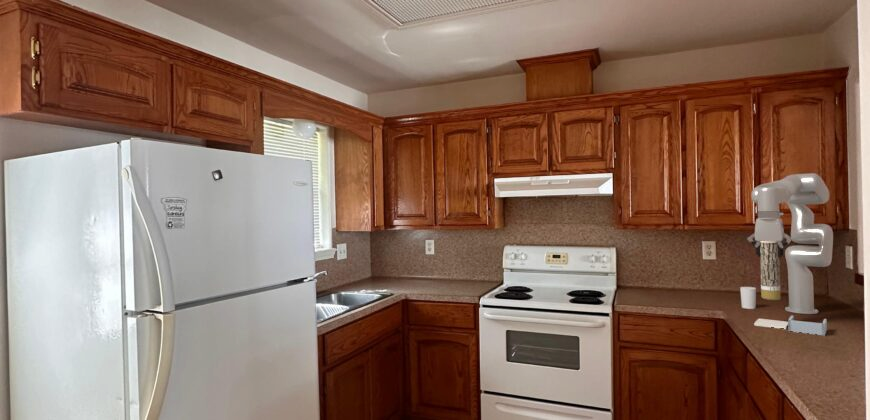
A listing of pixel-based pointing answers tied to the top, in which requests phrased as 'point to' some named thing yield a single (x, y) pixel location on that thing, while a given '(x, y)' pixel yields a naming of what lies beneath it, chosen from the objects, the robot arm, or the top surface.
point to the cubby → (807, 326)
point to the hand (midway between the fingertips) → (769, 256)
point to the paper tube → (770, 270)
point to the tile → (771, 323)
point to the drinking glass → (748, 297)
